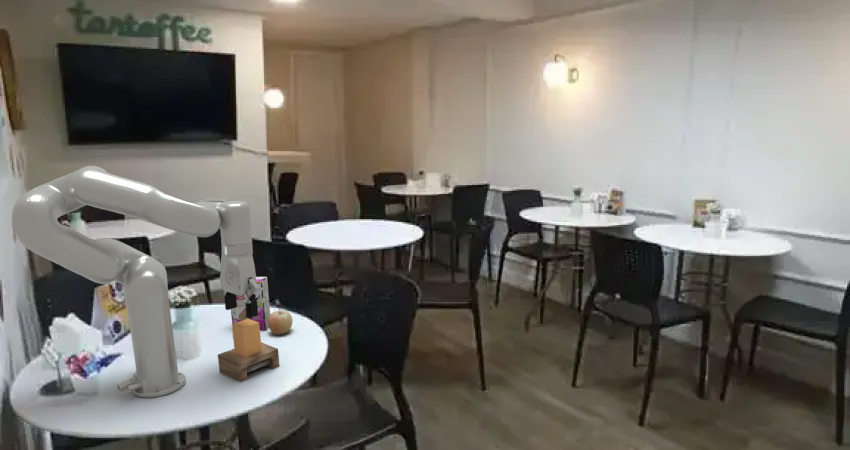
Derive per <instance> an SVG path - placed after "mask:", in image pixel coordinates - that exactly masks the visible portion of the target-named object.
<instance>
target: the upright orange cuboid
mask: <svg viewBox="0 0 850 450" xmlns="http://www.w3.org/2000/svg"><path fill="white" fill-rule="evenodd" d="M231 329H232V339H233V349H234V350H235V353H237V354H239V355H242V356H244V357H247V356H250V355H253V354H255V353H258V352H260V351H262V348H261V342H262V341H261V330H260V327H259V322H256V321H253V320H251V319H246V320H243V321H240V322H237V323H234V324H232V323H231Z"/></svg>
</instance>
